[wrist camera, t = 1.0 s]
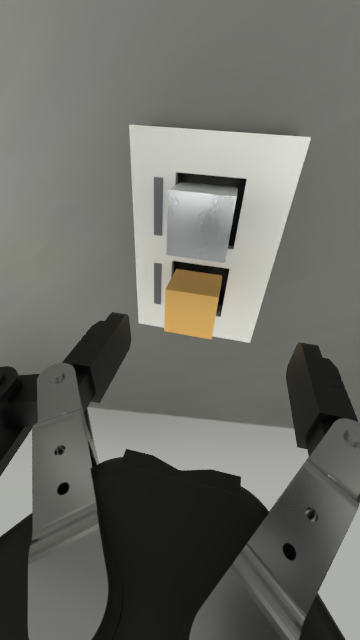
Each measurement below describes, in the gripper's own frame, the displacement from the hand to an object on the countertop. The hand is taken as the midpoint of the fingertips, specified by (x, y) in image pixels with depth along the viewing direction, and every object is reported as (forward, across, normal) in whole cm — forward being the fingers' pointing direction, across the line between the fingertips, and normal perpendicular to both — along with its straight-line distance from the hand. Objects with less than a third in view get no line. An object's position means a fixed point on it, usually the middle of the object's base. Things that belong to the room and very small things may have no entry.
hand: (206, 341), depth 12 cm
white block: (+14, +2, -2) cm, 15 cm away
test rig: (+21, +2, +2) cm, 21 cm away
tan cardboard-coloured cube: (+14, +2, +6) cm, 16 cm away
